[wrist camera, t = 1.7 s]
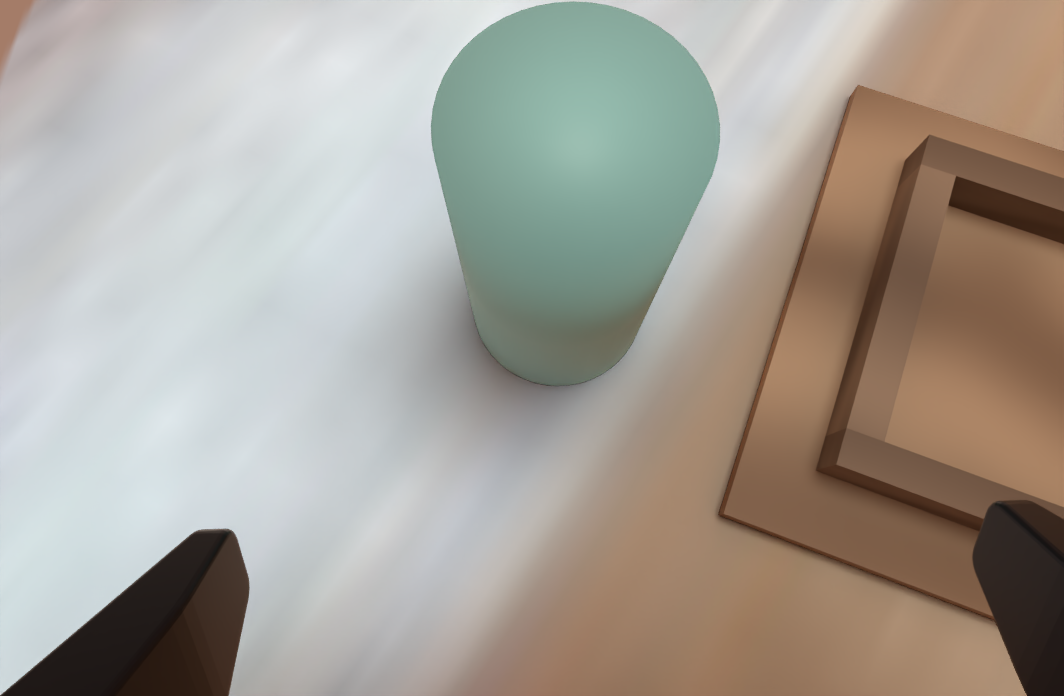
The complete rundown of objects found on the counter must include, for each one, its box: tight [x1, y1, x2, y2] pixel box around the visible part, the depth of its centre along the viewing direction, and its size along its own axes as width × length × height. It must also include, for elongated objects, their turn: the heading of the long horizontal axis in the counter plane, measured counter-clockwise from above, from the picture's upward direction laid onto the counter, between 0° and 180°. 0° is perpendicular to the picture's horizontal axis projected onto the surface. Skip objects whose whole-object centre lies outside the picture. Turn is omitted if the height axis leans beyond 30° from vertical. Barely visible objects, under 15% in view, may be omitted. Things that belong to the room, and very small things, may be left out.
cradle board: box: [719, 85, 1064, 620], centre depth 22 cm, size 14×14×2 cm
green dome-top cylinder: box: [431, 2, 720, 386], centre depth 18 cm, size 5×5×10 cm
